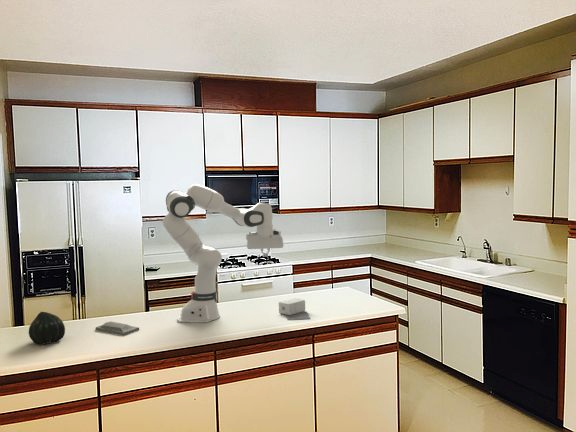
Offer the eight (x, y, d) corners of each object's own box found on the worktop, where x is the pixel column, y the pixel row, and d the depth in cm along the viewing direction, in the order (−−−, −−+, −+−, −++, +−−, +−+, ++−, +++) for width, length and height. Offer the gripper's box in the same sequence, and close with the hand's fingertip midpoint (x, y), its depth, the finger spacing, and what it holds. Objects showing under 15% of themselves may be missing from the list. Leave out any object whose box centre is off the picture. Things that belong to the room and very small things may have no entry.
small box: (288, 315, 250) (305, 311, 258) (288, 303, 249) (305, 299, 258) (278, 313, 255) (295, 308, 264) (278, 301, 255) (295, 297, 264)
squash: (67, 332, 214) (61, 304, 221) (30, 340, 206) (26, 311, 213) (66, 345, 224) (61, 318, 231) (31, 354, 216) (26, 325, 223)
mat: (287, 320, 244) (287, 319, 243) (285, 313, 256) (285, 312, 256) (310, 319, 245) (310, 318, 245) (306, 311, 258) (306, 311, 258)
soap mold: (123, 337, 224) (123, 330, 224) (94, 331, 233) (94, 324, 233) (139, 330, 233) (139, 324, 233) (111, 325, 242) (110, 319, 242)
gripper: (246, 233, 252) (246, 258, 254) (283, 231, 255) (284, 256, 256) (245, 231, 259) (246, 256, 260) (282, 230, 261) (282, 254, 262)
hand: (265, 256), depth 258 cm, fingers closed
